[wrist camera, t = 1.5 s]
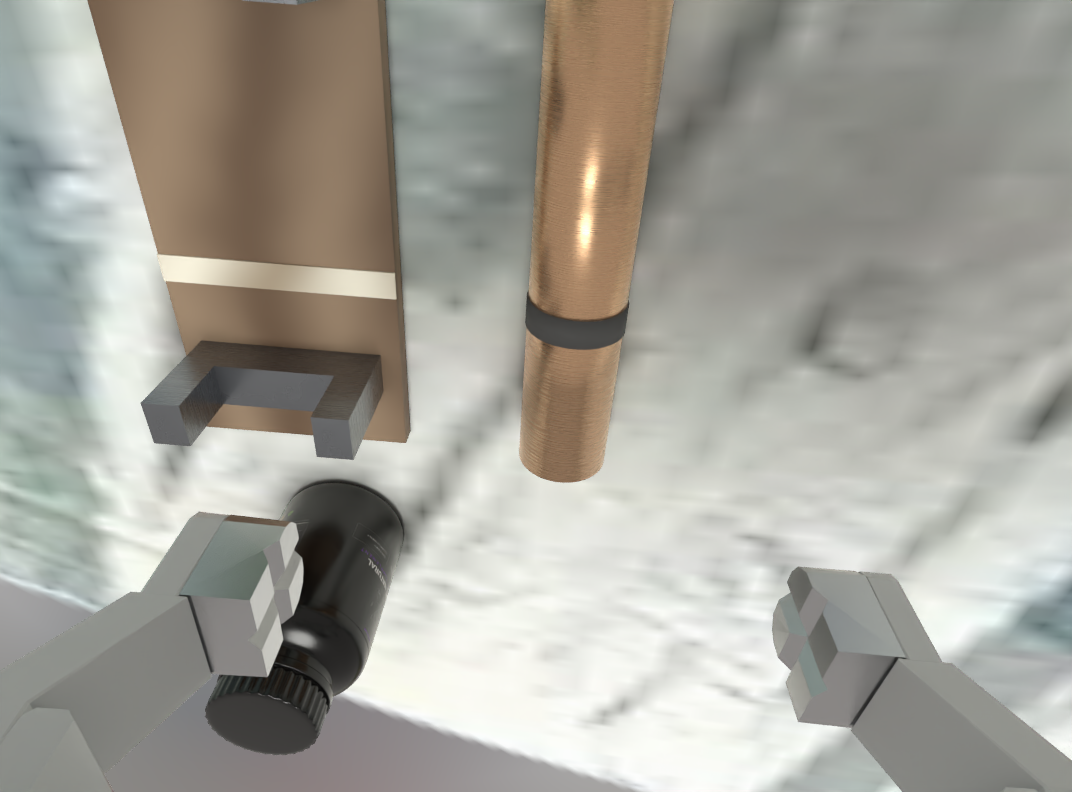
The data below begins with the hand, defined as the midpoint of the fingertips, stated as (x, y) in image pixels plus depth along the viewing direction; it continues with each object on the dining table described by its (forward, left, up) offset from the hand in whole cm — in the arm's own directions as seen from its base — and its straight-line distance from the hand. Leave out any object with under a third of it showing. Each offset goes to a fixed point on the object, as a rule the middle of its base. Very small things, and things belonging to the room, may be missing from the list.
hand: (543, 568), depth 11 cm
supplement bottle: (+11, +19, -19) cm, 29 cm away
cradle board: (+12, 0, -19) cm, 22 cm away
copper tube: (0, 0, -19) cm, 19 cm away
